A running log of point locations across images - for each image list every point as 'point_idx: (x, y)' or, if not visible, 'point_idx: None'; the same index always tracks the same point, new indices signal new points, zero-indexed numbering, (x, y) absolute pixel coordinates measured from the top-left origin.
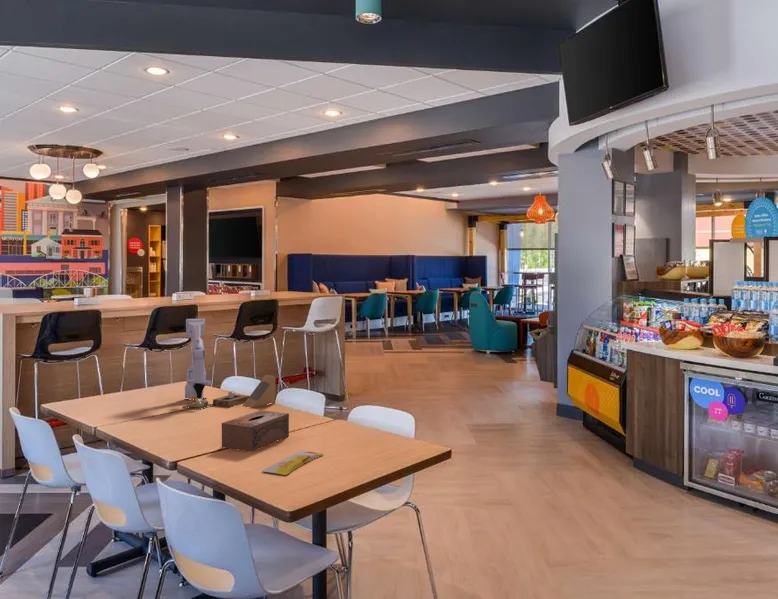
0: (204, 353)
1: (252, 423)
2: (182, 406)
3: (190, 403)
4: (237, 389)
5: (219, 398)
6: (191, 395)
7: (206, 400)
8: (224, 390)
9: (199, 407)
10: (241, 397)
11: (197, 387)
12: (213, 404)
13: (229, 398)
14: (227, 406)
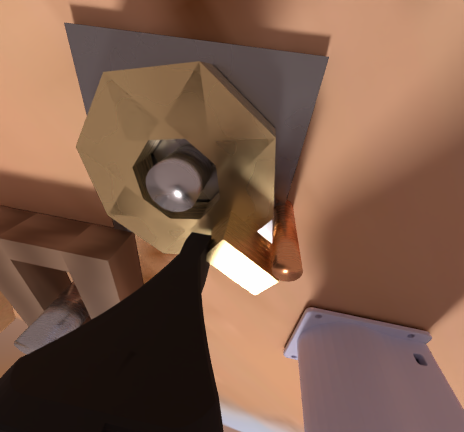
0: None
1: None
2: (327, 58)
3: (197, 63)
4: (253, 429)
5: (100, 291)
6: (294, 266)
7: (146, 240)
8: (289, 427)
9: None
10: (31, 320)
11: (74, 357)
12: (114, 226)
13: (62, 301)
14: (14, 210)
